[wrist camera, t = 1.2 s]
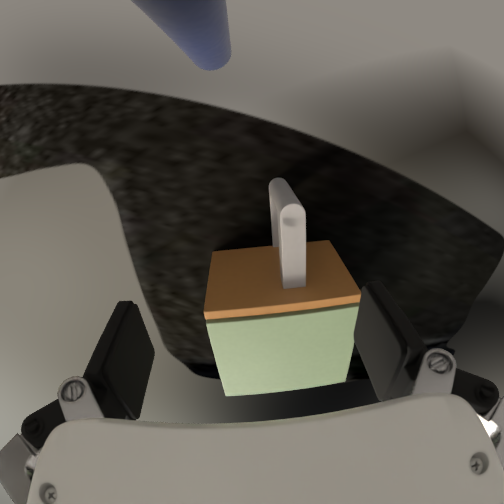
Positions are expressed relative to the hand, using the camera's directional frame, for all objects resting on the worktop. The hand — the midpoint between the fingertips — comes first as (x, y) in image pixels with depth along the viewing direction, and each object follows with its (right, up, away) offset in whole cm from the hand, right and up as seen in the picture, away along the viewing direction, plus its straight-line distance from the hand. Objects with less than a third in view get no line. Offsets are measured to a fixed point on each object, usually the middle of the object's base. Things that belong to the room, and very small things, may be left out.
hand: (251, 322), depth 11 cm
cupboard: (+2, 0, +23) cm, 24 cm away
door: (+2, +8, +19) cm, 21 cm away
